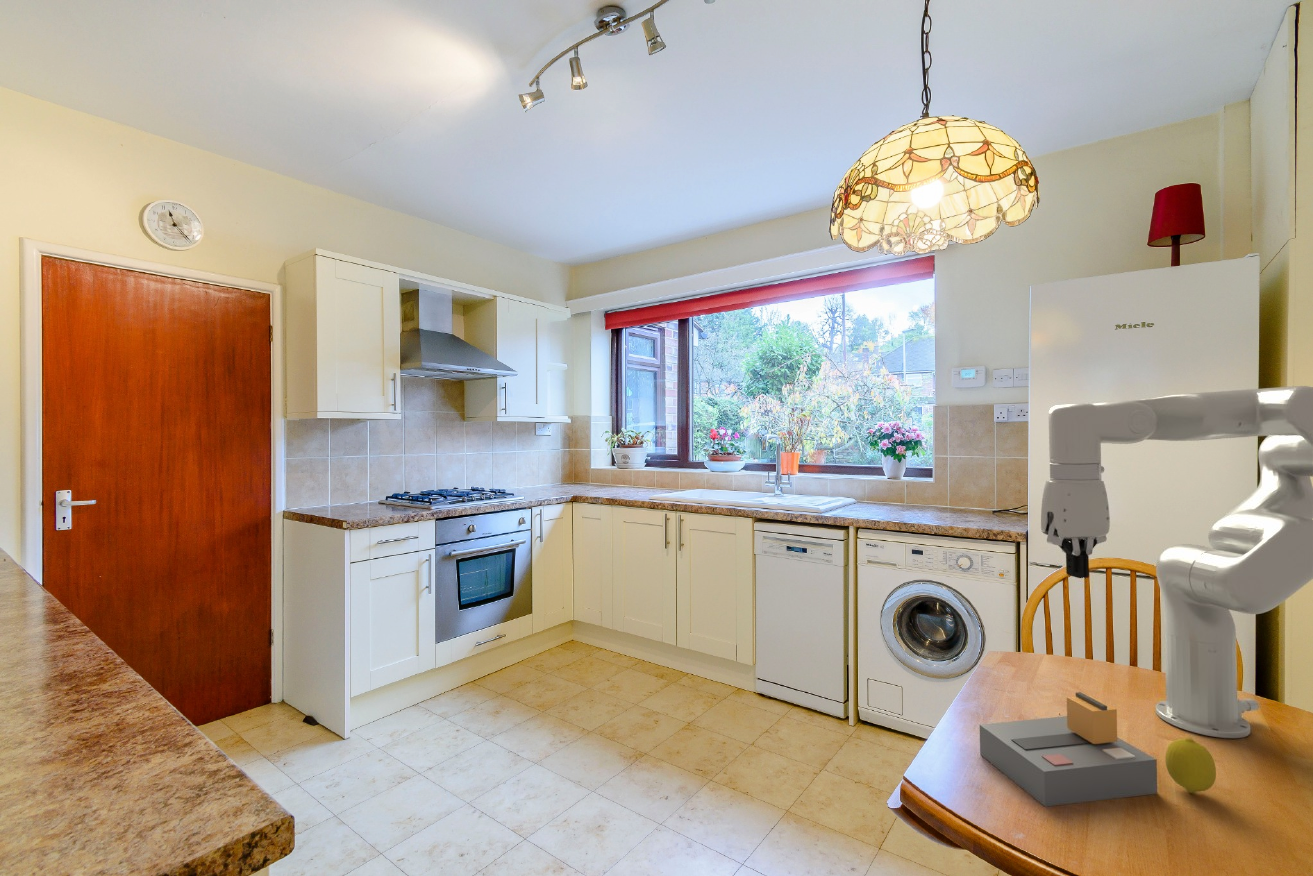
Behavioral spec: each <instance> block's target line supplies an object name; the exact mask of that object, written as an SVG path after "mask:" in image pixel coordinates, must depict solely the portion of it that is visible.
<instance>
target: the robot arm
mask: <svg viewBox="0 0 1313 876" xmlns="http://www.w3.org/2000/svg"><path fill="white" fill-rule="evenodd" d="M1250 437H1265V438H1264V440H1263V441H1262V442H1261V444H1260V445H1259V448H1258V454H1257V455H1258V463H1259V472H1260V479H1259V483H1258V485H1257V487H1256V489H1255V490H1254V491H1253V492H1252V493H1250V494H1249V495H1248V496H1247V497H1246V498H1244V499H1243V500H1242V501H1240V502H1239V503H1238V504H1237V505H1235V506H1234V507H1233V508H1232V509H1231V510H1229V511H1228V512H1227V513H1225V514H1224V515H1223V516H1222V517H1220V518H1219V519H1218V520H1217V521H1215V523H1214V524H1213V525H1212V527H1211V528H1210V530H1209V532H1208V537H1207V538H1208V542H1209V545H1210V546H1211V547H1208V546H1204V545H1198V544H1191V543H1190V544H1189V543H1188V544H1187V543H1186V544H1184V543H1183V544H1177V545H1173V546H1169V547H1168V548H1166V549H1165V550H1163V552H1161V553H1160V555H1159V556H1158V558H1157V561H1156V568H1155V569H1156V570H1155V572H1156V578H1157V583H1158V585H1159V589H1160V592H1161V593H1160V594H1161V597H1162V602H1163V603H1162V604H1163V614H1164V615H1163V616H1164V652H1165V654H1164V655H1165V656H1164V657H1165V658H1164V659H1165V697H1166V698H1165V700H1161V701H1159V702H1157V703H1155V713H1156V715H1157V716H1159V718H1160V719H1162V720H1163V721H1165V722H1166V723H1169V724H1171V725H1172V726H1175V727H1177V728H1180V729H1183V730H1185V731H1188V732H1191V733H1196V734H1199V735H1203V736H1209V737H1213V738H1221V739H1222V738H1223V739H1240V738H1241V739H1242V738H1245V737H1247V736H1249V735H1250V734H1251V725H1250V723H1249V722H1248V721H1247V720H1246V719H1245V718H1243V716H1242V715H1243V714H1244V713H1245V712H1250V711H1251V712H1252V711H1259V709H1260V705H1259V702H1257V700H1256V699H1254V698H1242V699H1238V670H1237V669H1238V667H1237V666H1238V665H1237V664H1238V663H1237V629H1236V625H1235V621H1234V618H1233V615H1232V613H1231V611H1233V612H1238V613H1242V614H1247V615H1259V614H1264V613H1267V612H1269V611H1271V610H1273V609H1275V608H1277V607H1278V606H1280V605H1281V604H1283V602H1285V601H1286V600H1288V599H1289V598H1290V597H1292V596H1293V595H1294V594H1295V593H1296V592H1298V591H1299V590H1300V589H1302V588H1303V587H1304V586H1306V585H1307V584H1309V582H1311V581H1312V580H1313V483H1312V479H1311V477H1313V386H1307V385H1295V386H1282V387H1281V386H1279V387H1266V388H1251V389H1250V388H1248V389H1235V390H1223V391H1206V392H1205V391H1204V392H1192V393H1190V392H1189V393H1182V394H1173V395H1165V396H1160V397H1154V398H1153V397H1152V398H1144V399H1133V400H1132V399H1131V400H1120V401H1102V402H1101V401H1100V402H1088V403H1066V404H1057V405H1054V406H1052V407H1051V408H1050V409H1049V411H1048V440H1049V441H1048V445H1049V446H1048V447H1049V448H1048V449H1049V480H1046V481H1045V484H1044V488H1043V492H1042V500H1041V510H1040V512H1041V513H1040V529H1041V532H1042V534H1044V535H1047V538H1046V543H1047V544H1050V545H1055V546H1058V547H1059V548H1060V549H1061V552H1063V553H1064V554H1065V570H1066V572H1065V573H1066V575H1067V576H1070V577H1074V578H1077V579H1084V578H1085V579H1089V577H1090V564H1089V563H1090V562H1089V559H1090V558H1089V556H1091V555H1092V554H1093V551H1094V548H1095V547H1096V546H1097V545H1098V544H1102V543H1104V542H1106V541H1107V535H1108V534H1109V532H1110V527H1111V526H1110V525H1111V524H1110V523H1111V522H1110V507H1109V499H1108V494H1107V489H1106V484H1105V482H1104V480H1102V474H1104V472H1105V468H1104V466H1103V465H1102V451H1101V450H1102V447H1101V444H1112V445H1113V444H1114V445H1118V444H1119V445H1128V444H1129V445H1131V444H1137V443H1140V442H1143V441H1145V440H1152V441H1167V442H1168V441H1169V442H1186V441H1190V442H1191V441H1193V442H1195V441H1208V440H1221V439H1223V440H1224V439H1235V438H1250Z"/></svg>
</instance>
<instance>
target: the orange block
mask: <svg viewBox="0 0 1313 876" xmlns="http://www.w3.org/2000/svg"><path fill="white" fill-rule="evenodd" d="M1117 714H1118V712H1117V708H1115V707H1113V706H1112V705H1109V704H1108V703H1105V702H1104V701H1101V700H1100V699H1098V698H1096V697H1093V696H1092V695H1090V694H1085V693H1082V692H1080V691H1078V692H1075V696H1067V697H1066V716H1067V728H1068V729H1070V730H1071V731H1073V732H1075V733H1076V734H1078V735H1080V736H1081V737H1083V738H1084V739H1086V740H1088V741H1089V742H1091V743H1093V744H1099V743H1109V742H1117V737H1118V715H1117Z"/></svg>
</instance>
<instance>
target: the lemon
mask: <svg viewBox="0 0 1313 876" xmlns="http://www.w3.org/2000/svg"><path fill="white" fill-rule="evenodd" d="M1164 759H1165V762H1164V763H1165V767H1166V770H1167V772H1168V774H1169V776H1170V777H1171V778H1172V780H1173V781H1174V782H1175V783H1176V784H1178V785H1179V786H1180V787H1182V788H1184V790H1186V791H1187V793H1190V794H1195V793H1198V792H1200V793H1201V792H1205V791H1207V790H1209V789H1210V788H1211V787H1213V785H1215V781H1216V779H1217V770H1216V763H1215V761H1214V758H1213V756H1212V754H1211V753H1210V751H1209V750H1208V749H1207V748H1206V747H1205V746H1204V745H1202V744H1201V743H1200V742H1198V741H1196V740H1194V739H1193V738H1192V737H1186V738H1177V739H1174V740H1173V741H1171V742H1170V743H1169V745H1168V746H1167V749H1166V751H1165V757H1164Z"/></svg>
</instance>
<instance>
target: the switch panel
mask: <svg viewBox="0 0 1313 876" xmlns="http://www.w3.org/2000/svg"><path fill="white" fill-rule="evenodd" d="M979 746H980V747H979V753H980V754H979V755H980V756H981V757H983V758H984V759H985V760H986V761H988V763H991V764H992V765H993V766H994V768H996V769H998V771H1000V772H1002V774H1004V775H1005V776H1006V777H1007V778H1009V779H1010V780H1011V781H1013V782H1014V783H1015V784H1016V785H1017V786H1019V787H1020V788H1021V789H1023V791H1025V792H1026V793H1027V794H1028V795H1030V796H1031V797H1033V798H1034V799H1035V800H1036V801H1038V803H1039V804H1041V805H1043V806H1044V807H1053V806H1062V805H1069V804H1079V803H1087V802H1094V801H1104V800H1112V799H1114V800H1115V799H1121V798H1129V797H1131V798H1132V797H1138V796H1146V795H1155V794H1156V795H1157V794H1158V767H1157V766H1158V764H1157V763H1158V761H1157V759H1156V758H1155V757H1153V756H1152V755H1149V754H1148V753H1146V752H1145V751H1142V750H1140V749H1139V748H1137V747H1136V746H1134V745H1132V744H1130V743H1128V742H1127V741H1126V740H1123V739H1122V738H1120V737H1119V736H1117V742H1109V743H1099V744H1093V743H1091V742H1089V741H1088V740H1086V739H1084V738H1083V737H1081V736H1080V735H1078V734H1076V733H1075V732H1073V731H1071V730H1070V729H1068V728H1067V715H1064V716H1056V717H1055V716H1054V717H1044V718H1043V717H1042V718H1035V719H1023V720H1013V721H1004V722H994V723H993V722H991V723H982V724H981V723H980V724H979Z"/></svg>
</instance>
